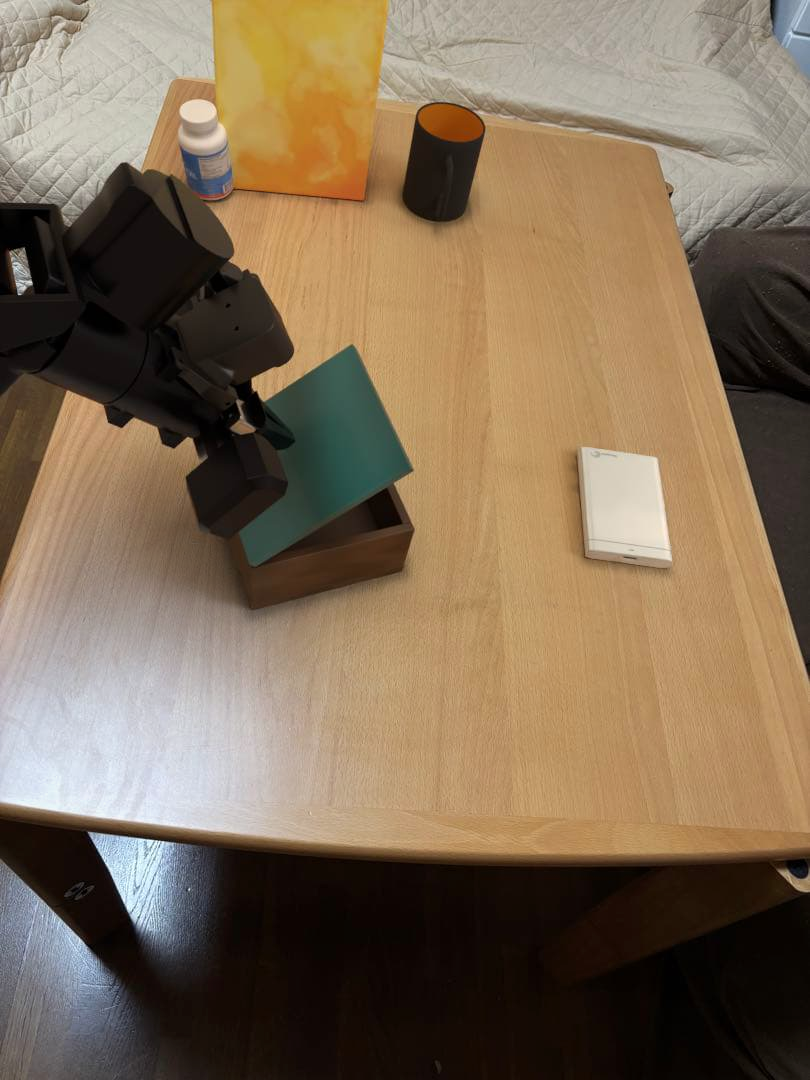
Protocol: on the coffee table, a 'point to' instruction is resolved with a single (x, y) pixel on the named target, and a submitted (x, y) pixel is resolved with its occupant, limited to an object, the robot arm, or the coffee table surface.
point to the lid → (327, 453)
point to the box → (333, 553)
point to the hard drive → (623, 508)
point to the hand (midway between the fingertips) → (290, 441)
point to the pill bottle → (205, 150)
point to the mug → (442, 160)
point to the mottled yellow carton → (299, 92)
